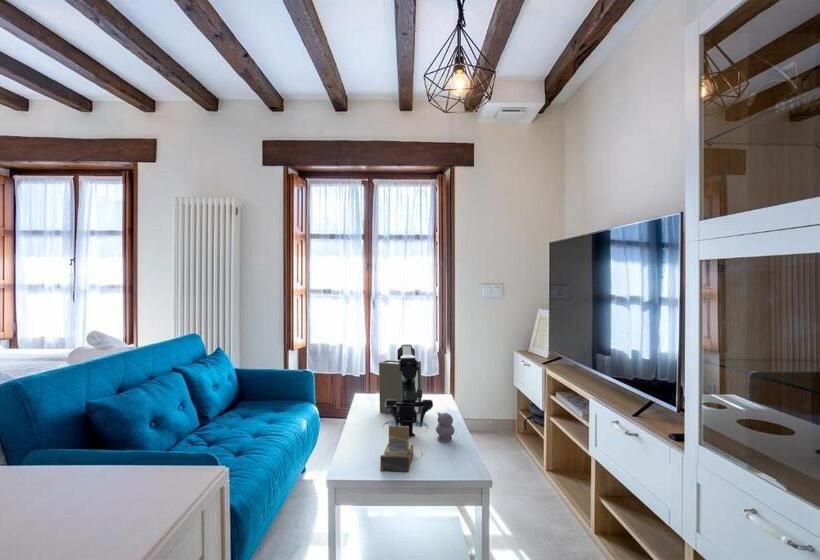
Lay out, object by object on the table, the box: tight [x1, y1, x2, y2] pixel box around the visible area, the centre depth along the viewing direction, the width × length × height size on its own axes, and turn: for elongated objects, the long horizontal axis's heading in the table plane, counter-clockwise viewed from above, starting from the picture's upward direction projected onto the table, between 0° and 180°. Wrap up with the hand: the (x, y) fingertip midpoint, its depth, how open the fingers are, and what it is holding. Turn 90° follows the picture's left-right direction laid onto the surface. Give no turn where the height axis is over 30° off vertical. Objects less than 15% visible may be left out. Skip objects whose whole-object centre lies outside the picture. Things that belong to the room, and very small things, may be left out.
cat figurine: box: [435, 411, 455, 444], centre depth 184 cm, size 8×8×12 cm
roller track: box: [379, 443, 414, 474], centre depth 162 cm, size 17×11×6 cm, turn 174°
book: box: [378, 359, 423, 415], centre depth 223 cm, size 22×9×28 cm, turn 64°
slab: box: [387, 425, 410, 457], centre depth 163 cm, size 6×8×10 cm
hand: (409, 426), depth 160 cm, fingers open, 9 cm apart
